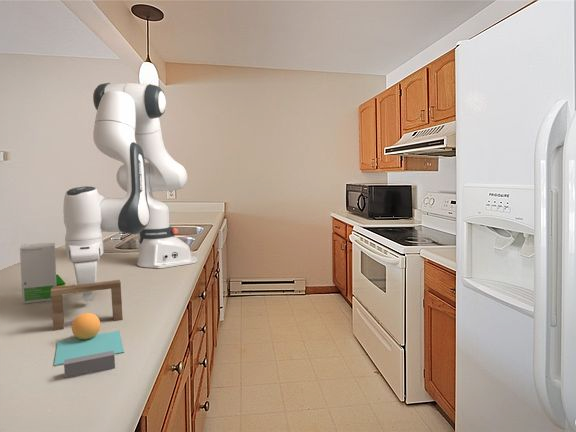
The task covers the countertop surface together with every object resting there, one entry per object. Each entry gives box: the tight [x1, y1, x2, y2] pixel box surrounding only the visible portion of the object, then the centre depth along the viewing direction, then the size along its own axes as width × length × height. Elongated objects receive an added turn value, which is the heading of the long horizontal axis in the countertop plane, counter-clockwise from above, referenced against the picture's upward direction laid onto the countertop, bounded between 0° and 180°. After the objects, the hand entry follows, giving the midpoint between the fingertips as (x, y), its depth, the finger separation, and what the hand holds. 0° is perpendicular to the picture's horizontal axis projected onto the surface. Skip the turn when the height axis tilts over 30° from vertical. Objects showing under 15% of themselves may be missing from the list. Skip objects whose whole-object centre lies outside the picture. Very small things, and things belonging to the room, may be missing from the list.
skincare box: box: [19, 242, 57, 305], centre depth 114 cm, size 8×7×16 cm
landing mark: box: [53, 330, 125, 367], centre depth 83 cm, size 12×12×1 cm
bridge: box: [50, 279, 124, 331], centre depth 95 cm, size 3×14×9 cm, turn 117°
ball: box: [71, 312, 101, 340], centre depth 87 cm, size 6×6×6 cm
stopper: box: [63, 351, 116, 379], centre depth 73 cm, size 8×2×2 cm, turn 117°
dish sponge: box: [56, 274, 66, 287], centre depth 127 cm, size 7×14×2 cm, turn 38°
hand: (88, 299), depth 108 cm, fingers closed
